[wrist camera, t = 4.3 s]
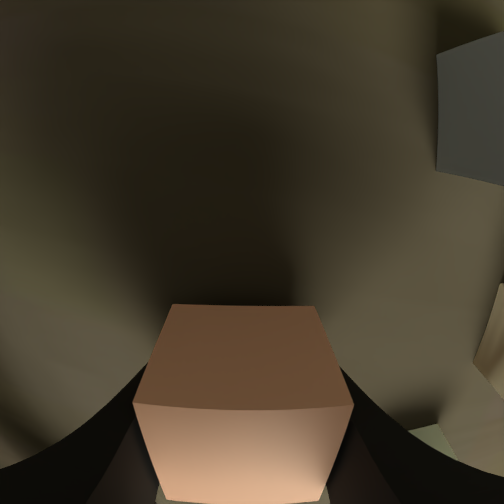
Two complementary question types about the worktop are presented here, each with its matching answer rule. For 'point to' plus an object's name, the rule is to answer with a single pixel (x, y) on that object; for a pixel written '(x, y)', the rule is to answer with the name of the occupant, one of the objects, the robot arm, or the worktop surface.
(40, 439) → the worktop surface
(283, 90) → the worktop surface
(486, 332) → the maple block
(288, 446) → the terracotta block
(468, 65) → the slate block
